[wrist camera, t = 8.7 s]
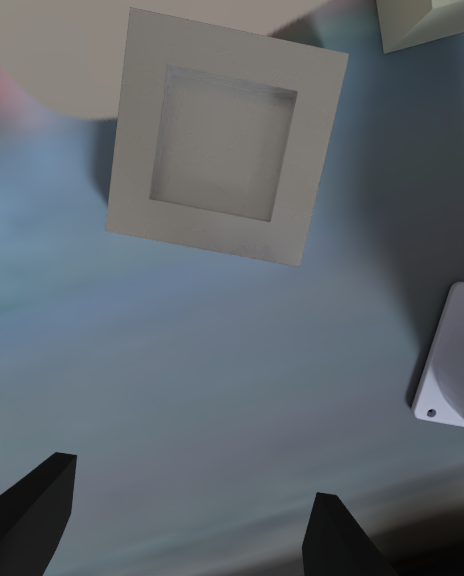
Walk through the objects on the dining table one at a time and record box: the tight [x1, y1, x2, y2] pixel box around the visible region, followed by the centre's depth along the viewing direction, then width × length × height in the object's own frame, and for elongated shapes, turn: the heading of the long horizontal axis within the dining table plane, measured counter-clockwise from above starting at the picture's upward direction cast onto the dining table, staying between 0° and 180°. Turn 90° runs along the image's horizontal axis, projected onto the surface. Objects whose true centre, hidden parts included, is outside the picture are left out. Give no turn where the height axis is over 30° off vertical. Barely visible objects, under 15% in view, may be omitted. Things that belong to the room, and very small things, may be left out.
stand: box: [105, 7, 349, 267], centre depth 18 cm, size 9×9×2 cm
